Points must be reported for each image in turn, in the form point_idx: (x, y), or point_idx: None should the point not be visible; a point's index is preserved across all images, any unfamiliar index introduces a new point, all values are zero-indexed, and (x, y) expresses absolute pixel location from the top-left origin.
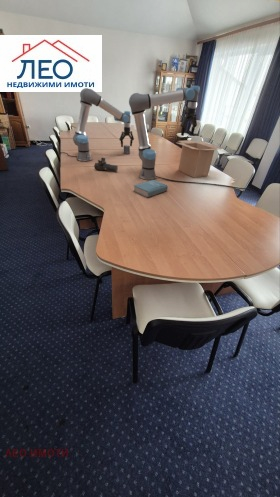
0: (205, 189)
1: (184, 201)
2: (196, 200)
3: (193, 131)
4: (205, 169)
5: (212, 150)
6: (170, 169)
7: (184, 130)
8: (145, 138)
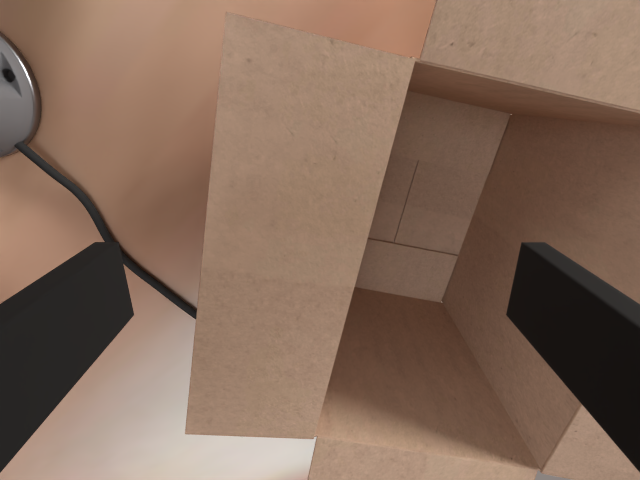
0: None
1: None
2: (82, 461)
3: (559, 371)
4: (415, 322)
5: (505, 451)
6: (304, 23)
7: (47, 413)
8: None
